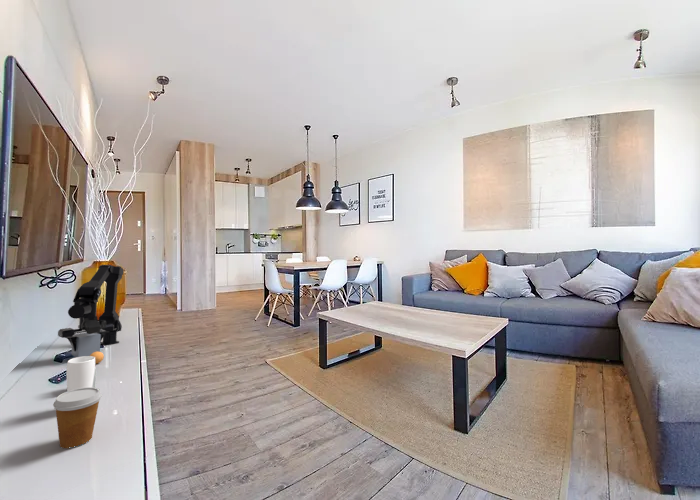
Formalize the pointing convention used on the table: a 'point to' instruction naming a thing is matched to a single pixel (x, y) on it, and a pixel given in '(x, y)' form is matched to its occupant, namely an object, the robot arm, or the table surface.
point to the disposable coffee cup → (76, 415)
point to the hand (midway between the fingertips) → (86, 349)
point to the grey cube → (86, 344)
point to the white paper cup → (80, 372)
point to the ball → (97, 356)
